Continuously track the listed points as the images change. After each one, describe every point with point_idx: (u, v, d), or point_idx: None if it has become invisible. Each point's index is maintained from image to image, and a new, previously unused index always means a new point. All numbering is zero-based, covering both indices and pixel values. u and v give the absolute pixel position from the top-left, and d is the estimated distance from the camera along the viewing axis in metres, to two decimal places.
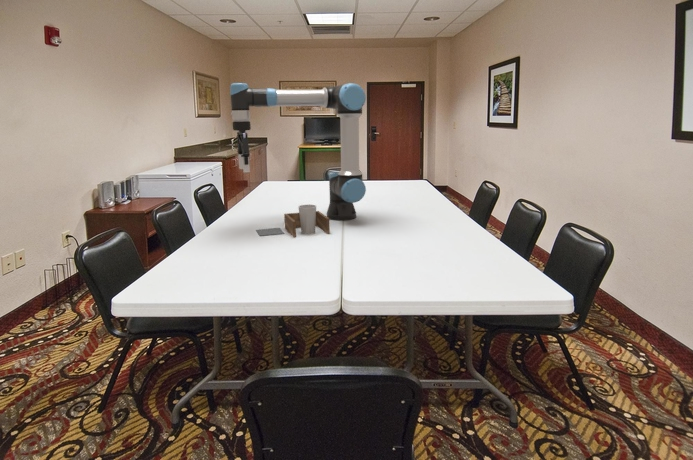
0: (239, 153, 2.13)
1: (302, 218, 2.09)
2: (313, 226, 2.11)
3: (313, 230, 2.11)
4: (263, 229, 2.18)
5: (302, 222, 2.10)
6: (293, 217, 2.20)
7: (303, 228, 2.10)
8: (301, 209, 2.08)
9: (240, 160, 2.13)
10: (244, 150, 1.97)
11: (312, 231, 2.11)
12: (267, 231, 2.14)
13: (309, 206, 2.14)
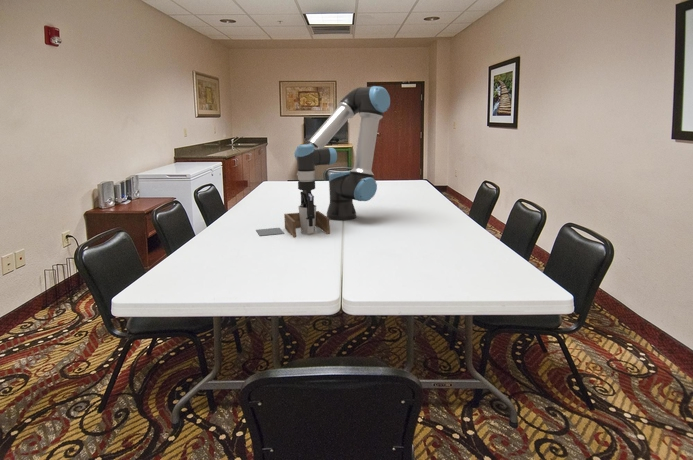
0: None
1: (302, 218, 2.09)
2: None
3: None
4: (263, 229, 2.18)
5: (302, 222, 2.10)
6: (293, 217, 2.20)
7: (303, 228, 2.10)
8: (301, 209, 2.08)
9: None
10: (310, 213, 2.04)
11: None
12: (267, 231, 2.14)
13: None
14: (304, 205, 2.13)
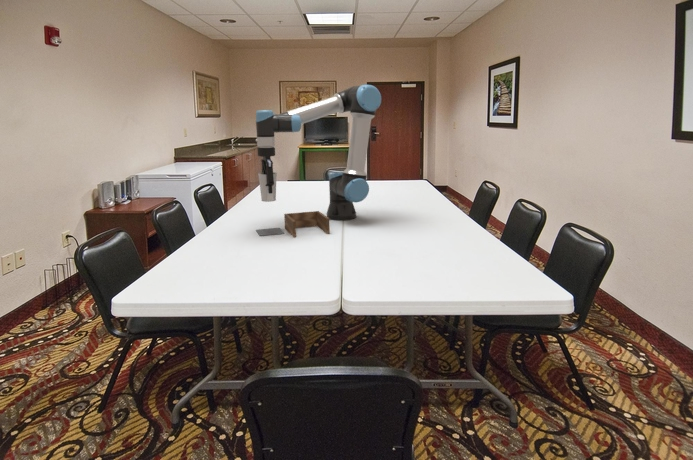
0: None
1: (262, 185, 2.07)
2: (273, 193, 2.08)
3: None
4: (263, 229, 2.18)
5: (262, 189, 2.07)
6: (293, 217, 2.20)
7: (263, 195, 2.08)
8: (260, 176, 2.05)
9: None
10: (269, 180, 2.02)
11: None
12: (267, 231, 2.14)
13: None
14: (264, 173, 2.10)
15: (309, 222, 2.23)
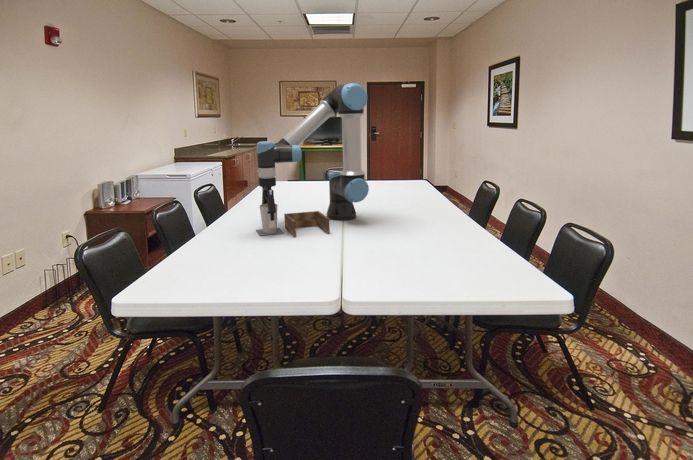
0: None
1: (263, 217, 2.10)
2: None
3: (274, 229, 2.12)
4: None
5: (263, 221, 2.11)
6: (293, 217, 2.20)
7: (264, 227, 2.11)
8: (262, 208, 2.09)
9: None
10: (270, 207, 2.03)
11: (273, 230, 2.12)
12: None
13: None
14: (265, 200, 2.15)
15: (309, 222, 2.23)
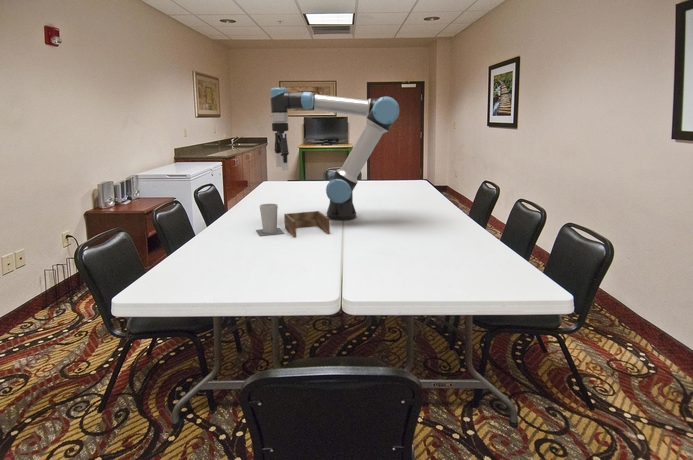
0: (276, 152, 2.30)
1: (263, 217, 2.10)
2: (274, 225, 2.12)
3: (274, 229, 2.12)
4: None
5: (263, 221, 2.11)
6: (293, 217, 2.20)
7: (264, 227, 2.11)
8: (262, 208, 2.09)
9: (277, 159, 2.30)
10: (284, 149, 2.14)
11: (273, 230, 2.12)
12: None
13: (271, 205, 2.15)
14: (278, 145, 2.26)
15: (309, 222, 2.23)
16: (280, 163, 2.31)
